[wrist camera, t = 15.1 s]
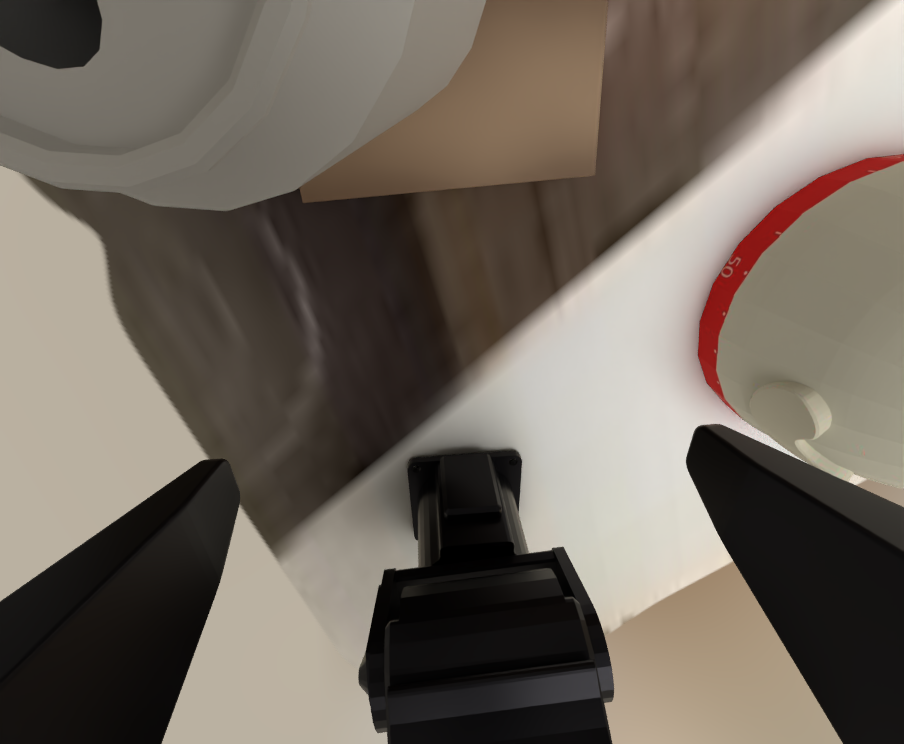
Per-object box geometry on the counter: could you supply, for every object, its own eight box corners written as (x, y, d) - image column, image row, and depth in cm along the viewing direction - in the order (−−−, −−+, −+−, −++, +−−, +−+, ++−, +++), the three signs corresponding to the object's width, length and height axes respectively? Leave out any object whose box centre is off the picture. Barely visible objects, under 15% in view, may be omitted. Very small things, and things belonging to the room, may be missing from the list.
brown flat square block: (574, 169, 19) (594, 175, 17) (316, 193, 19) (303, 203, 16) (596, -229, 13) (630, -297, 11) (230, -201, 13) (193, -265, 11)
